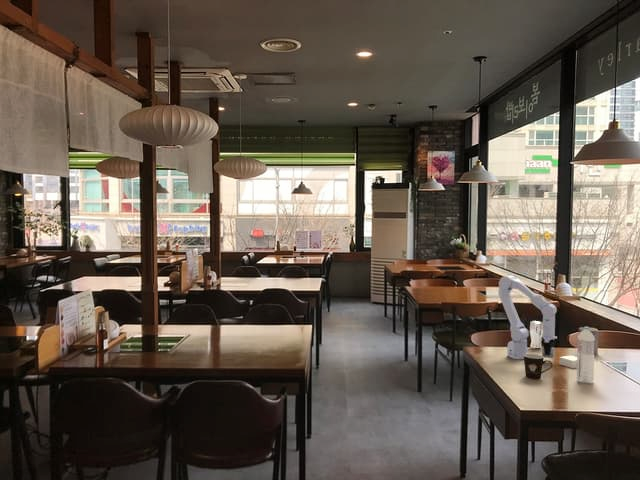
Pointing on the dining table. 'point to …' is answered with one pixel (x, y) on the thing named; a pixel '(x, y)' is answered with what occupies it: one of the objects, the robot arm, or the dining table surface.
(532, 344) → the beer glass
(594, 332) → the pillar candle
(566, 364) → the cream block
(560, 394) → the dining table surface
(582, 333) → the water bottle
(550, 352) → the blue cube
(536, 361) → the coffee mug
